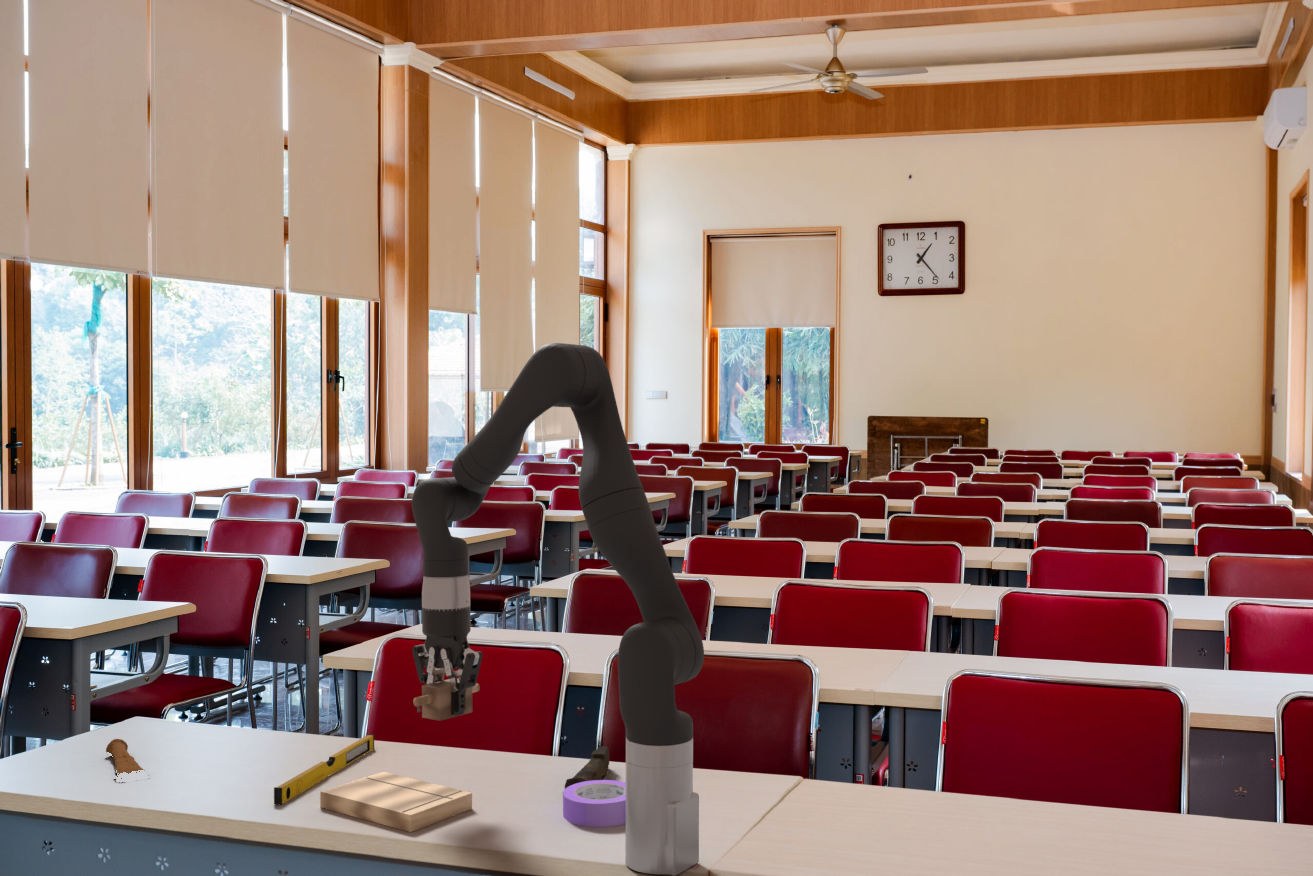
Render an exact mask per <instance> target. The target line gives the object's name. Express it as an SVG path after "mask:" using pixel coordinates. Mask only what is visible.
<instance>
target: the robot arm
mask: <svg viewBox="0 0 1313 876" xmlns="http://www.w3.org/2000/svg"><path fill="white" fill-rule="evenodd" d="M610 375H611V374H610V372H609V369H608V365H607V363H606V361H605V359H604V357H603V356H602V355H601V354H600V352H598V350H596V349H595V348H593V347H591V346H589V345H585V344H584V345H583V344H575V343H574V344H573V343H562V342H551V343H547V344H546V343H545V344H543V345H542V346H541V347H539V348H538V349H537V350H536V351H535V352H534V353H533V354H532V355H531V356H530V358H529V359H528V360H527V362H526V363H525V365H524V366H523V367H522V369H521V371H520V373H518V375H517V377H516V379H515V381H514V382H513V383H512V385H511V387H510V388H509V389H508V391H507V393H506V395H504V397H503V399H502V400H501V402H500V404H499V405H498V407H497V408H496V409H495V411H494V412H493V414H492V415H491V417H490V418H489V419H488V421H487V422H486V423H485V424H484V425H483V427H481V429H480V430H479V431H478V432H476V433H477V434H475V436H473V437H472V438H471V439H470V441H469V442H468V443H467V444H466V445H465V446H463V448H462V449H461V450H460V451H459V452H458V453H457V455H456V456H455V457H454V458H453V461H452V464H451V471H452V475H453V477H431V478H430V477H429V478H426V479H422V481H420V482H419V483H418V484H417V485H416V487H415V489H414V491H413V494H412V498H411V510H412V515H413V519H414V522H415V526H416V529H417V533H418V538H419V541H420V543H421V547H422V551H423V554H422V558H423V559H422V561H423V562H422V563H423V565H422V566H423V567H422V568H423V569H422V571H423V573H422V574H423V578H422V579H423V581H422V587H421V588H422V589H421V623H422V624H421V625H422V627H421V630H422V631H421V632H422V635H425V636H426V637H425V641H424V643H423V644H418V645H417V644H416V645H414V646H413V647H412V648H411V652H412V656H413V660H414V664H415V669H416V673H417V676H418V677H417V678H418V681H419V683H421V684H422V683H423V684H424V685H426V684H431V683H435V682H439V681H444V680H445V679H444V678H445V676H446V678H448V679H449V680H450V685H451V690H452V691H453V692H451V714H452V715H454V716H456V717H459V716H458V715H460V716H462V715H461V714H463V713H464V711H465V708H466V702H465V701H466V694H465V693H466V689H468V688H471V687H474V686H475V685H476V683H477V681H478V677H479V672H480V668H481V664H482V660H483V657H484V656H483V655H484V654H483V652H482V651H480V650H479V651H475V650H473V649H471V648H470V644H469V642H468V635H469V633H471V630H472V629H471V622H472V621H471V586H470V579H469V578H470V577H469V548H468V547H469V546H468V543H467V541H466V540H465V539H463V538H461V537H457V536H453V535H452V534H451V531H450V529H449V525H448V523H450V522H451V523H452V522H461V521H464V520H467V519H469V518H470V517H471V516H473V515H474V514H475V513H476V512H477V511H478V510H479V509H480V507H481V505H482V503H483V501H484V499H485V498H486V496H487V494H488V492H489V490H490V488H491V486H492V485H493V484H494V483H495V481H497V480H498V479H499V478H500V477H501V476H502V475H503V474H504V473H505V472H506V471H507V470H508V469H509V467H510V466H511V465H513V463H514V462H515V460H516V458H517V457H518V455H519V453H520V451H521V448H522V444H523V442H524V437H525V434H526V432H527V430H528V428H529V427H530V425H531V424H532V423H533V422H534V421H536V419H537V418H539V417H540V416H541V415H543V414H544V413H545V412H547V411H548V410H549V409H551V408H570V409H571V412H572V414H573V417H574V418H575V421H576V424H577V428H578V430H579V433H580V437H581V441H582V461H581V467H580V474H579V481H578V498H579V502H580V503H579V504H580V508H581V510H582V514H583V516H584V520H585V523H586V526H587V529H588V532H589V534H590V537H591V539H592V542H593V543H594V545H595V547H596V548H597V550H598V551H599V552H600V554H601V555H602V556H603V558H604V559H605V560H606V561H607V562H608V563H609V565H610V566H611V567H612V568H613V569H614V571H616V573H617V574H618V575H619V577H621V579H622V580H623V581H624V582H625V583H626V585H627V586H628V588H629V589H630V591H631V592H632V595H633V596H634V598H635V600H636V603H637V606H638V608H639V612H640V614H641V616H642V620H643V621H642V622H639V623H637V624H634V625H631V626H630V627H629V628H628V629H627V630H626V631H625V632H624V633H623V635H622V637H621V639H620V642H619V647H618V652H617V654H618V655H617V674H618V676H617V681H618V697H619V699H618V700H619V711H620V715H621V718H622V721H623V724H624V726H625V727H624V728H625V782H626V813H625V824H624V825H625V830H624V831H625V849H624V850H625V865H626V866H627V868H630V870H633V871H636V872H639V873H642V874H647V875H648V874H649V875H669V876H677V875H679V874H681V873H682V872H685V871H686V870H688V869H690V868H691V866H692V867H694V866H695V865H696V863H697V864H699V863H698V862H700V795H699V793H698V792H694V791H693V790H694V764H693V763H694V723H693V718H692V717H691V715H690V714H688V713H687V712H685V711H682V710H678V709H677V706H676V705H677V704H676V693H675V692H676V691H675V689H676V688H675V686H676V685H678V684H684V683H686V682H689V681H691V680H693V679H694V678H696V677H697V676H698V674H700V672H701V670H702V668H703V665H704V662H705V661H704V660H705V650H704V643H703V638H702V636H701V632H700V630H699V627H698V626H697V623H696V620H695V618H694V616H693V614H692V612H691V611H690V608H689V606H688V604H687V602H686V599H685V598H684V595H683V593H682V591H681V589H680V587H679V584H678V582H677V579H676V577H675V575H674V572H673V570H672V567H671V565H670V562H669V559H668V556H667V553H666V550H665V548H664V545H663V543H662V540H661V537H660V534H659V532H658V530H657V526H656V522H655V520H654V517H653V512H652V510H651V506H650V504H649V501H648V498H647V495H646V492H645V490H644V487H643V485H642V484H643V483H642V481H641V479H640V477H639V474H638V472H637V468H636V466H635V463H634V459H633V456H632V453H631V449H630V447H629V443H628V441H627V438H626V435H625V432H624V429H623V425H622V421H621V417H620V412H619V408H618V404H617V399H616V396H615V395H616V394H615V391H614V388H613V387H614V386H613V383H612V378H611V376H610ZM457 669H458V670H457ZM425 671H426V672H425ZM457 679H459V683H458V681H457Z"/></svg>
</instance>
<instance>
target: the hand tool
mask: <svg viewBox="0 0 1313 876" xmlns="http://www.w3.org/2000/svg"><path fill="white" fill-rule="evenodd" d="M609 765H610V749H609V747H608V746H606V745H603V746H599V747H597V749H595V750H593V751H592V752H591V754H590V760H589V761H588V762H587V763H586V764H585V765H584V766H583V767H582V768H581V769H580V770H579V771H578V772H577V773H576V774H575V775H574V776H572V777H571V778H567V779H566V781H565V783H564V784H565V785H564V790H565V789H566V788H567V787H569V786H571V785H573V784H576V783H580V782H585V781H592V780H602V779H605V777H607V776H608V773H609V768H610V767H609Z"/></svg>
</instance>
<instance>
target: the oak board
mask: <svg viewBox="0 0 1313 876" xmlns="http://www.w3.org/2000/svg"><path fill="white" fill-rule="evenodd" d="M319 795H320V798H319V799H320V802H319V804H320V808H322V809H324V808H325V809H326V810H328V811H332V812H336V813H339V814H344V815H347V816H349V817H355V818H357V819H361V820H365V821H369V822H373V823H376V824H380V825H385V826H386V827H391V828H394V829H398V830H402V831H405V832H409V833H412V832H415V831H417V830H420V829H423V828H425V827H428V826H430V825H433V824H436V823H438V822H441V821H444V820H447V819H449V818H452V817H454V816H457V815H460V814H463V813H465V812H468V811H470V810H473V793H472V792H470V791H466V790H461V789H457V788H453V787H449V786H445V785H442V784H441V785H440V784H436V783H433V782H429V781H423V780H419V779H415V778H411V777H407V776H404V775H398V774H393V773H390V772H386V771H381V772H378V773H375V774H371V775H369V776H365V777H362V778H358V779H355V780H353V781H349V782H346V783H343V784H340V785H336V786H334V787H333V786H332V787H330V788H327V789H324V790H321V791H320V793H319ZM325 809H324V810H325Z"/></svg>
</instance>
